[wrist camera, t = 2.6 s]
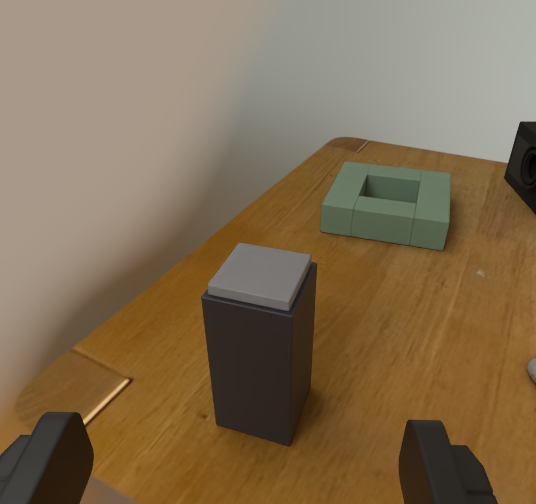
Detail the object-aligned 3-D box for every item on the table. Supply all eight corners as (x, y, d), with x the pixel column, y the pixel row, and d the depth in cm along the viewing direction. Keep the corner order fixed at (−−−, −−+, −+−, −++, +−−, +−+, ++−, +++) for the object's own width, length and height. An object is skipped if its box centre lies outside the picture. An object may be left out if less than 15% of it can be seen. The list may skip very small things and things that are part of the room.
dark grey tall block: (215, 424, 26) (199, 286, 21) (244, 369, 30) (236, 238, 25) (290, 447, 25) (293, 306, 20) (310, 386, 29) (318, 252, 23)
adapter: (320, 231, 45) (321, 204, 43) (343, 185, 54) (345, 161, 52) (443, 251, 42) (449, 222, 40) (445, 198, 51) (450, 173, 49)
